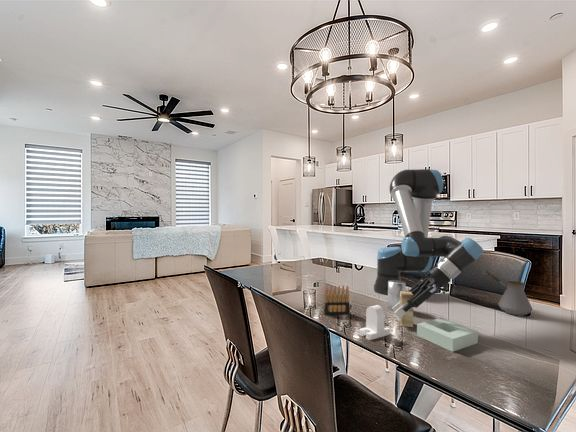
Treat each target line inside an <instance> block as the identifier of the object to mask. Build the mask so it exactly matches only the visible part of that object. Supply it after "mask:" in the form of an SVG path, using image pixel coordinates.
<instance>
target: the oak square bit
mask: <svg viewBox="0 0 576 432" xmlns="http://www.w3.org/2000/svg"><path fill="white" fill-rule="evenodd" d="M412 298H413V294H412V293H411V292H408V291H405V292H402V291H400V307H401V306H402V305H403V304H404V303H406V302H407V300H409V301H410V300H411V299H412ZM399 324H400V326H401V327H406V328H407V327H411V328H414V307H413V308H411V309H410V310H409V311H408V312H407V313H406V314H404V315H403V316H402V317H401V318H399Z"/></svg>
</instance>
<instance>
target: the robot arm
mask: <svg viewBox="0 0 576 432" xmlns="http://www.w3.org/2000/svg"><path fill="white" fill-rule="evenodd" d="M443 190H444V179H443V176H442V173H441V171H439V170H437V169H429V168H428V169H426V168H424V169H421V168H419V169H404V170H400V171H399V172H398V173H396V174H395V175H394V176H393V178H392V179H391V181H390V183H389V194H390V197H391V198H392V199H393V200H394V204H395V206H396V211H397V214H398V216H399V220H400V224H401V228H402V231H403V235H404V237H403V238H402V240H401V247H399V246H386V247H382V248H379V249H378V250H377V257H376V259H377V264H376V266H377V267H376V268H377V273H376V274H377V275H376V279H375V283H374V284H373V291H374V292H375V293H377V294H378V293H379V294H381V295H382V294H383V295H387V296H388V281H389V280H400V281H402V279H401V273H426V272H427V274H428V275H429V276H428V277H425V278H424V277H421V278H420V279H419V280H418V282H417V283H415V284H414V285H413V286H412V287H411V288H410V289H409V290H408V291H407V292H411V293H412V294H413V298H412V299H411V300H410V301H409V300H407V302H406V303H404V304H403V305H402V306H401V307H400V302H399V303H398V304H396V305H395V306H394V307H393V308H392V309H393V310H394V311H395V312H394V311H393V312H394V315H396V317H397V318H399V319H400V318H401V317H402V316H403V315H404V314H406V313H407V312H408V311H409V310H410V309H411V308H413V309H414V308H415V309H417V308H418V307H419V306H421V305H422V304H424V302H426V301H427V300H428V299H429V298H431V296H432V295H434V294H436V293H438V289H437V288H438V287H439V285H440V286H441V287H444V288H445V287H446V286H447V285H448V284H449V283H450V282H451V280H454V279H456V277H458V276H459V275H460V274H461V273H462V272H463V271H465V270H466V269H467V268H468V267H469V266H471V265H472V264H473V263H474V262H475V261H476V260H478V259H479V257H480V256H481V255H482V254H483V253H484V249H483V247H482V246H481V245H480V244H479V243H478V242H477V241H475V240H474V239H473V238H471V237H466V238H464V239H462V240H461V241H460V240H458V239H456V238H454V237H452V236H448V235H442V236H440V237H428V236H429V229H430V223H431V215H432V213H431V212H432V205H433V201H434V200H436V199H437V195H439V194H441V193H442V192H443ZM433 257H435V258H436V257H440V258H439V261H438V262H437V263H435V265H433Z"/></svg>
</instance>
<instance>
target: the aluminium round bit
mask: <svg viewBox="0 0 576 432" xmlns="http://www.w3.org/2000/svg"><path fill="white" fill-rule="evenodd" d="M400 291H402V292H406V282H405V281H403V280H401V281H400V280H389V281H388V295H387V310H389V311H391V312H395V311H394V310H393V309H392V308H393V307H394V306H395V305H396V304H398V303H399V302H400Z"/></svg>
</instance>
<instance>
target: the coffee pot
mask: <svg viewBox="0 0 576 432" xmlns="http://www.w3.org/2000/svg"><path fill="white" fill-rule="evenodd" d="M483 273H484V275H486V274H487V276H490V277H491V278H492V279H493V280H494V281H496V282H498V283H500V284H501V285H502V286H503V287H505V288H506V289H505V291H504V293H503V294H502V296H501V297H500V298H499V300H498V303H497V305H498V307H499V308H500V310H502V311H503V310H504V311H505V312H506V313H505V312H504V311H503V312H504V313H505V314H508V313H509V315H511V314H512V316H516V315H518V316H517V317H525V316H524V315H526V316H527V315H528V314H530V313H532V311H533V307H532V305H531V303H530V300H529V299H528V296H527V295H526V292H525V290H524V286H526V283H524V282H521V281H515V280H507V281H505V283H506V284H505V283H504V282H503V281H501V280H500V279H499V278H498V277H496V276H495V275H494V274H492V273H491V272H489V271H488V270H486V269H485V270H484V271H483Z"/></svg>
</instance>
